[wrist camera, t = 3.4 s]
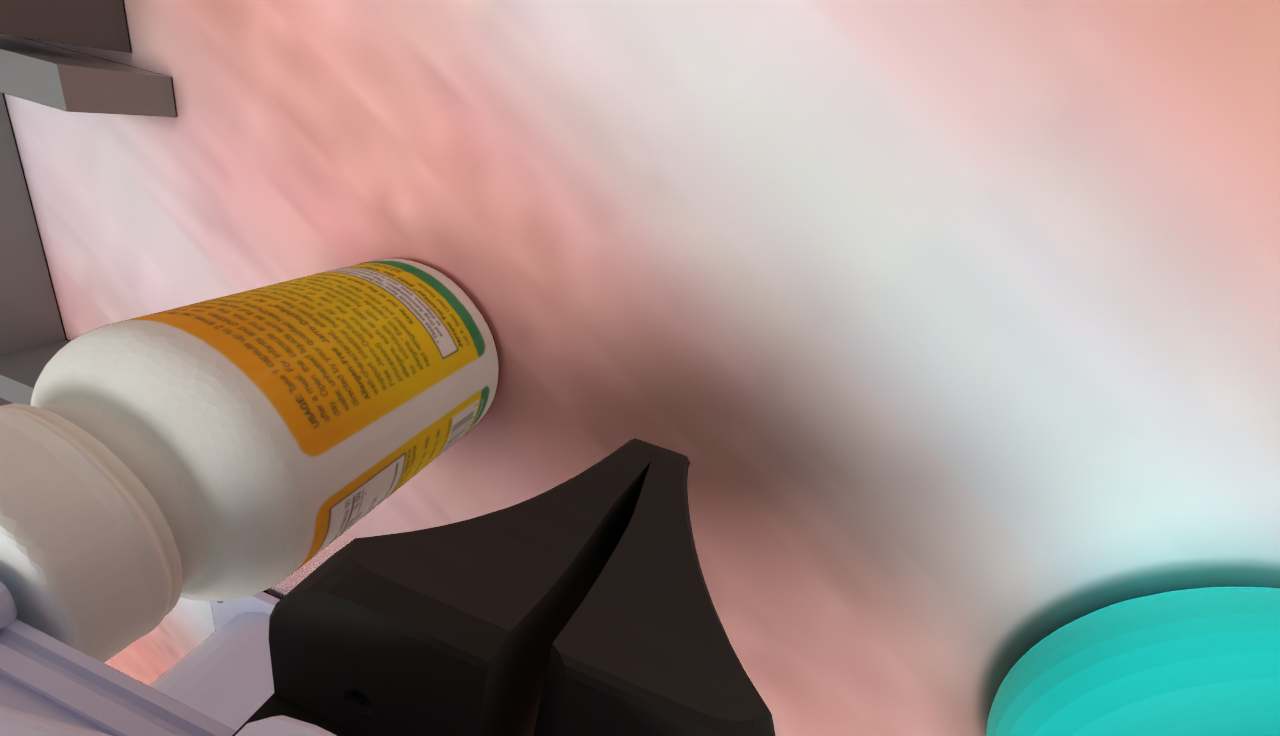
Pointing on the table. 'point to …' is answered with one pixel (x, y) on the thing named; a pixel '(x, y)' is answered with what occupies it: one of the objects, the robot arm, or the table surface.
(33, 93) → the grey tray with block
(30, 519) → the supplement bottle
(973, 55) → the table surface
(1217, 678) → the donuts
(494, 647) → the robot arm
